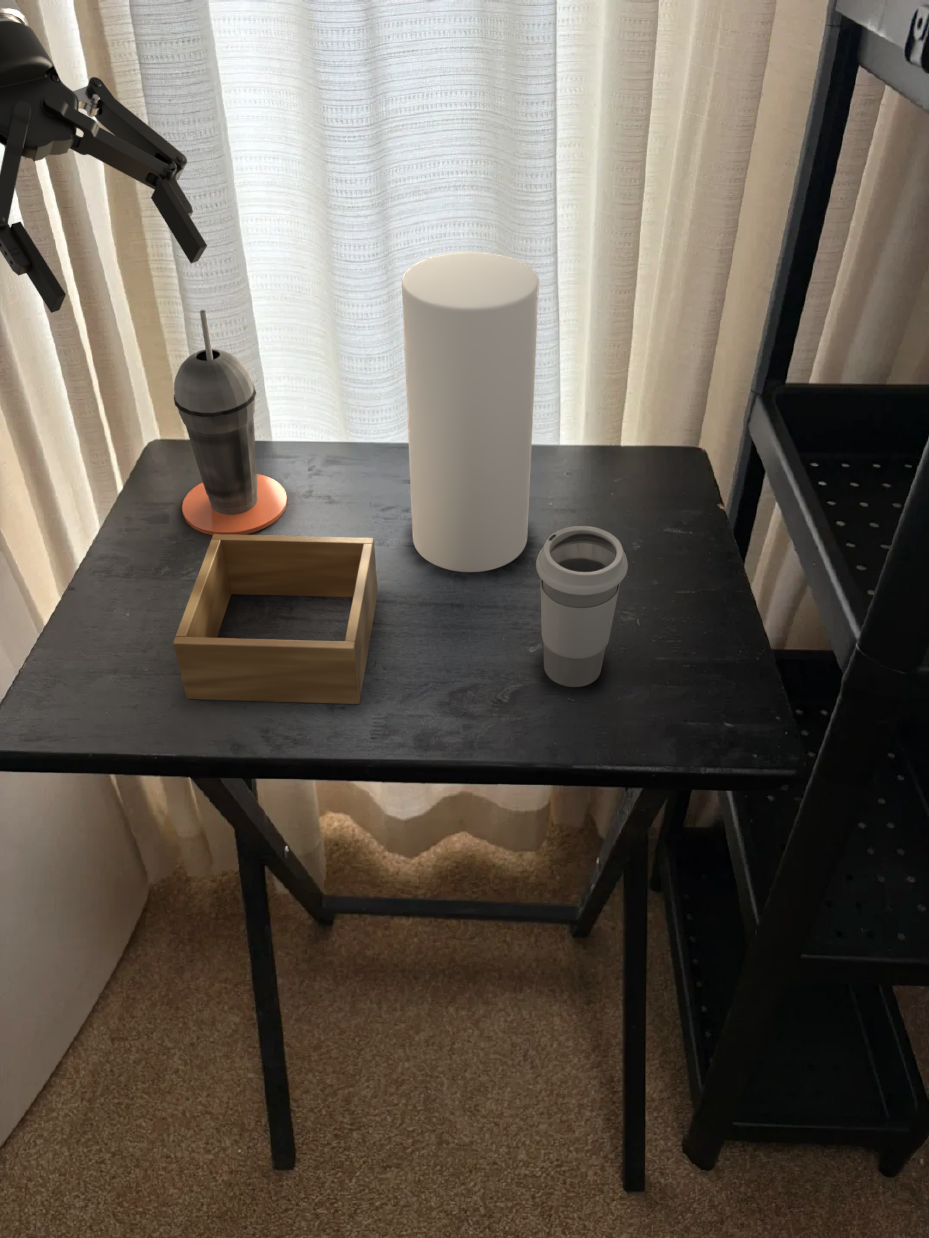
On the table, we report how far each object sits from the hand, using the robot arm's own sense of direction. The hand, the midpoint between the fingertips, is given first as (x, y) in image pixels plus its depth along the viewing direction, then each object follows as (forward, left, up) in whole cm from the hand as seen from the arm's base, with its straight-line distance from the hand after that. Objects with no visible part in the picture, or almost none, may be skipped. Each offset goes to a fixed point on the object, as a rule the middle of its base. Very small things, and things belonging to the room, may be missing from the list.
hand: (132, 278), depth 87 cm
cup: (+8, -43, -23) cm, 49 cm away
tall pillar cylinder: (+15, -25, -23) cm, 37 cm away
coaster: (+3, -5, -22) cm, 23 cm away
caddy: (-6, -24, -22) cm, 33 cm away
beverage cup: (+3, -5, -22) cm, 23 cm away
